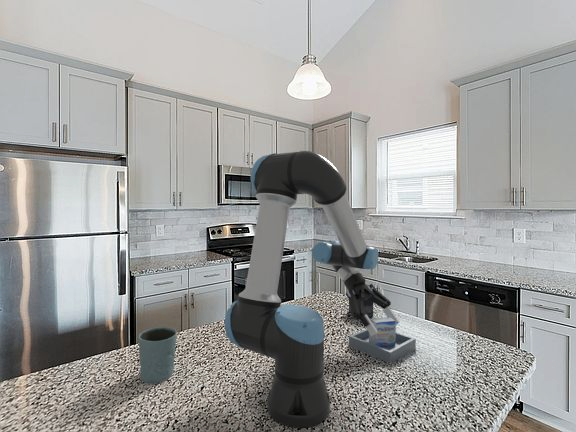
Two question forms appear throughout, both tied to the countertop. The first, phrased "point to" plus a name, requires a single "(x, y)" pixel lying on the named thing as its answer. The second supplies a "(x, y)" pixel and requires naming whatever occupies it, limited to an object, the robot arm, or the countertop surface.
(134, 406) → the countertop surface
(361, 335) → the grey tray
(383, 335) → the medicine box
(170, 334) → the teal cup
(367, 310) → the small box
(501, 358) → the countertop surface
